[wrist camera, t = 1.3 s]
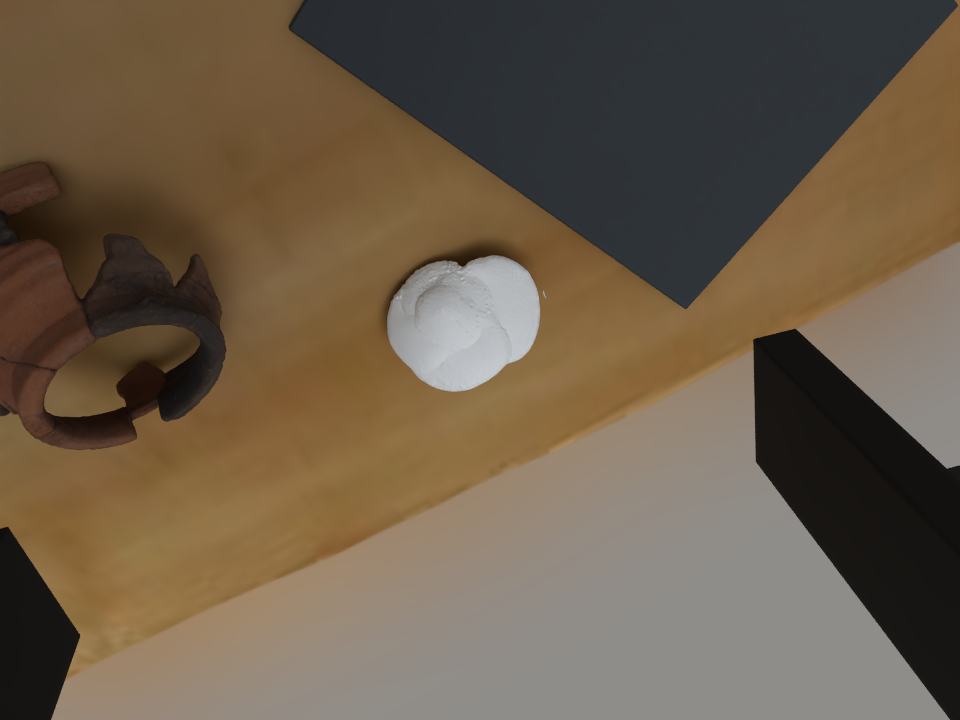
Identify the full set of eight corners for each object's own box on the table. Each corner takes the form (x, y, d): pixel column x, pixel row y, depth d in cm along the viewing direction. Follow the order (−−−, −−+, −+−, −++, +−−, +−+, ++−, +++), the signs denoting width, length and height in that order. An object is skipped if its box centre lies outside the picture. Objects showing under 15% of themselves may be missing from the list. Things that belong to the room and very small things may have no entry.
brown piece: (102, 100, 29) (192, 246, 26) (200, 255, 38) (279, 383, 34) (-236, 263, 27) (-188, 451, 23) (-50, 391, 35) (6, 545, 31)
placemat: (288, 26, 29) (288, 29, 29) (592, -471, 24) (598, -476, 23) (681, 305, 40) (686, 309, 39) (950, 3, 34) (959, 5, 34)
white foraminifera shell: (422, 371, 39) (414, 414, 35) (374, 277, 36) (361, 311, 33) (559, 320, 37) (566, 359, 34) (518, 219, 35) (521, 249, 32)
